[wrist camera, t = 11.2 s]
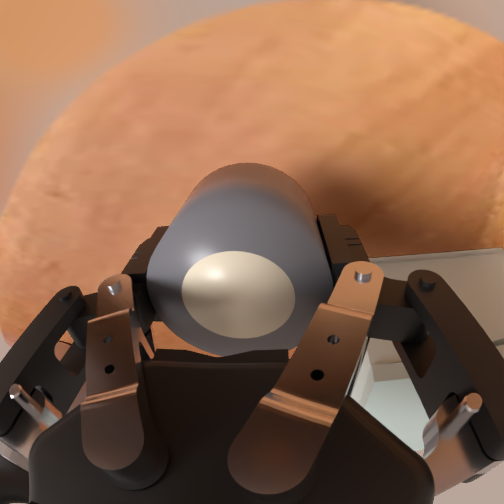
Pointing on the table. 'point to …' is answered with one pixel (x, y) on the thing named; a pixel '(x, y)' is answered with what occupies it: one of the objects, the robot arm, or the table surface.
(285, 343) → the egg in cup
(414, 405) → the lid
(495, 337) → the box
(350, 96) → the table surface
